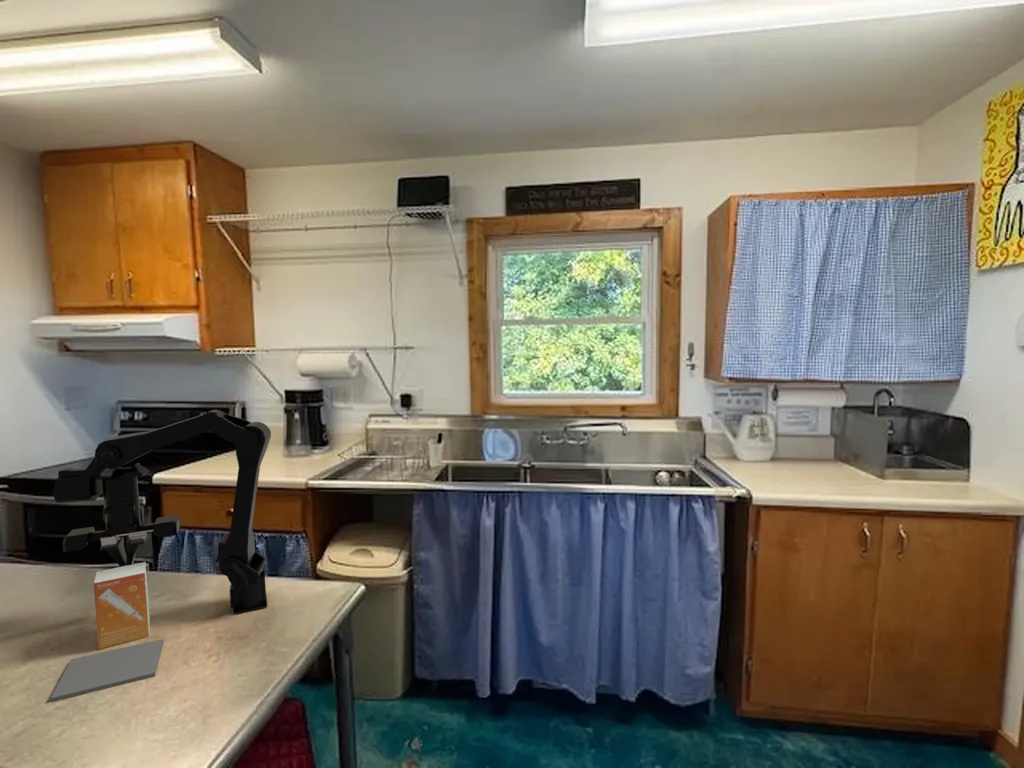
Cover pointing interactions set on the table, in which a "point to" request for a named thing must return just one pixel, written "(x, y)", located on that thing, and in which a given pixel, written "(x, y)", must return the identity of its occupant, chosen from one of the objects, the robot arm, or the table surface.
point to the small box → (121, 604)
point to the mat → (109, 669)
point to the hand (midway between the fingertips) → (127, 573)
